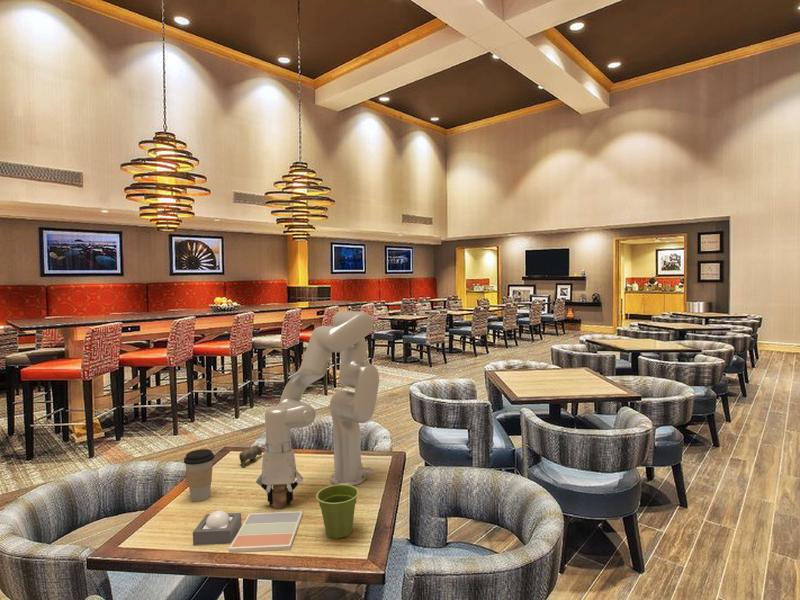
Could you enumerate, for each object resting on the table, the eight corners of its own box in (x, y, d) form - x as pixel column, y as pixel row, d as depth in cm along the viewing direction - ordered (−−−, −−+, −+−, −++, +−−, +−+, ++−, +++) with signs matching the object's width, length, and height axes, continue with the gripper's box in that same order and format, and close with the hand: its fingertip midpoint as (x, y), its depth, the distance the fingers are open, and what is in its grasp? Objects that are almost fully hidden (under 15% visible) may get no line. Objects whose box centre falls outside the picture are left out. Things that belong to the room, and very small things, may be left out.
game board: (302, 514, 143) (302, 510, 143) (290, 549, 124) (290, 545, 124) (249, 516, 143) (249, 513, 143) (228, 552, 124) (228, 548, 124)
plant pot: (321, 522, 138) (320, 484, 138) (362, 521, 138) (361, 483, 137) (313, 544, 126) (311, 503, 126) (357, 544, 126) (356, 502, 126)
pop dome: (233, 527, 136) (232, 505, 136) (226, 539, 130) (225, 516, 130) (210, 528, 136) (210, 506, 136) (202, 540, 130) (201, 517, 129)
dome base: (241, 524, 138) (241, 512, 138) (230, 543, 128) (230, 530, 128) (206, 526, 138) (206, 514, 138) (193, 544, 128) (192, 532, 128)
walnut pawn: (290, 501, 152) (289, 475, 152) (287, 509, 147) (286, 482, 147) (274, 502, 152) (273, 476, 151) (270, 509, 147) (269, 483, 146)
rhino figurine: (267, 456, 194) (267, 441, 193) (244, 468, 181) (244, 453, 181) (259, 455, 195) (259, 440, 195) (236, 467, 183) (235, 451, 182)
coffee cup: (186, 507, 150) (184, 460, 149) (184, 495, 158) (182, 451, 158) (217, 500, 154) (215, 454, 154) (214, 489, 163) (212, 446, 162)
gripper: (247, 451, 145) (250, 510, 145) (303, 449, 145) (305, 507, 146) (254, 443, 152) (256, 499, 153) (307, 441, 153) (309, 496, 153)
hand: (280, 502), depth 149 cm, fingers closed on walnut pawn, 4 cm apart
